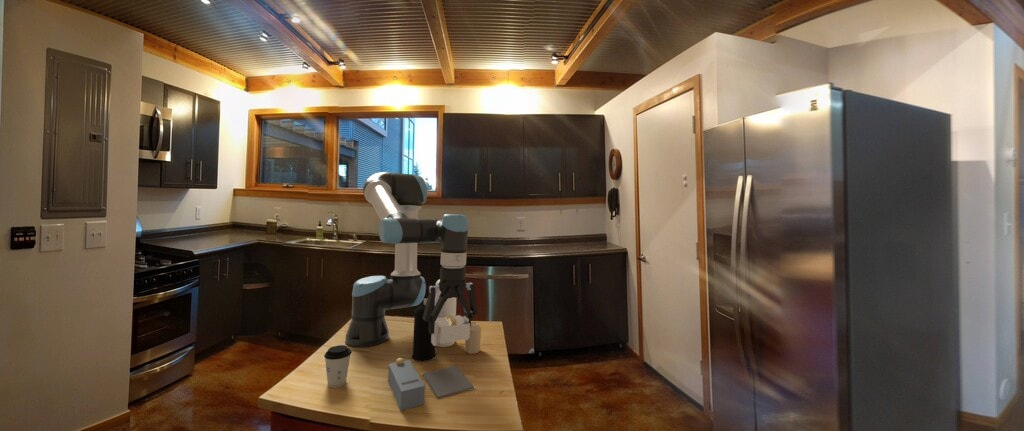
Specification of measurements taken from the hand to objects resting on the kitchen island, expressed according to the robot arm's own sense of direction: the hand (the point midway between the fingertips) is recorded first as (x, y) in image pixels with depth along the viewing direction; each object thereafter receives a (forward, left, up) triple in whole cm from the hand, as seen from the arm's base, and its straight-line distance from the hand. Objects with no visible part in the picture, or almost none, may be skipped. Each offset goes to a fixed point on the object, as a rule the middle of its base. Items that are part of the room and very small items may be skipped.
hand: (449, 341), depth 97 cm
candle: (-16, +15, -12) cm, 26 cm away
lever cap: (0, 0, +2) cm, 2 cm away
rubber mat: (0, 0, -12) cm, 12 cm away
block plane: (0, -13, -12) cm, 17 cm away
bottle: (-27, +8, -12) cm, 31 cm away
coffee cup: (-13, -29, -12) cm, 34 cm away
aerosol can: (-19, -2, -12) cm, 23 cm away
